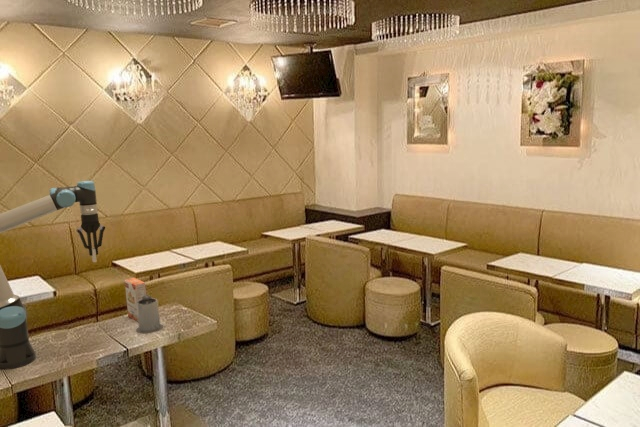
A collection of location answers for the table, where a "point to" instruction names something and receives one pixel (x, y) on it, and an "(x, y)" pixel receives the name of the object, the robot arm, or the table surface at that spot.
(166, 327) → the table surface
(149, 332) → the coaster
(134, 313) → the cracker box
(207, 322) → the table surface
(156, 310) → the grey hexagonal cup
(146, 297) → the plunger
